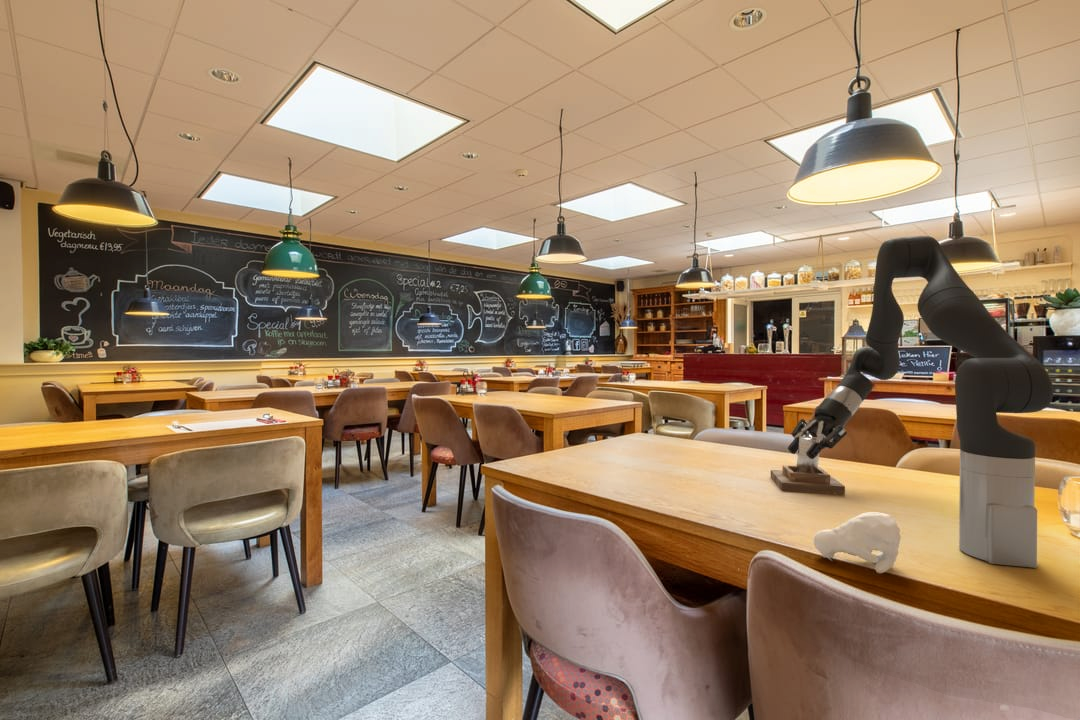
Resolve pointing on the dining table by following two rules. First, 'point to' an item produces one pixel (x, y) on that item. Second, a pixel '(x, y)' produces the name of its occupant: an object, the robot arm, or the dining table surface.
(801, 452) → the steel canister
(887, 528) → the white animal figurine
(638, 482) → the dining table surface
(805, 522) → the dining table surface
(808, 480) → the plate
